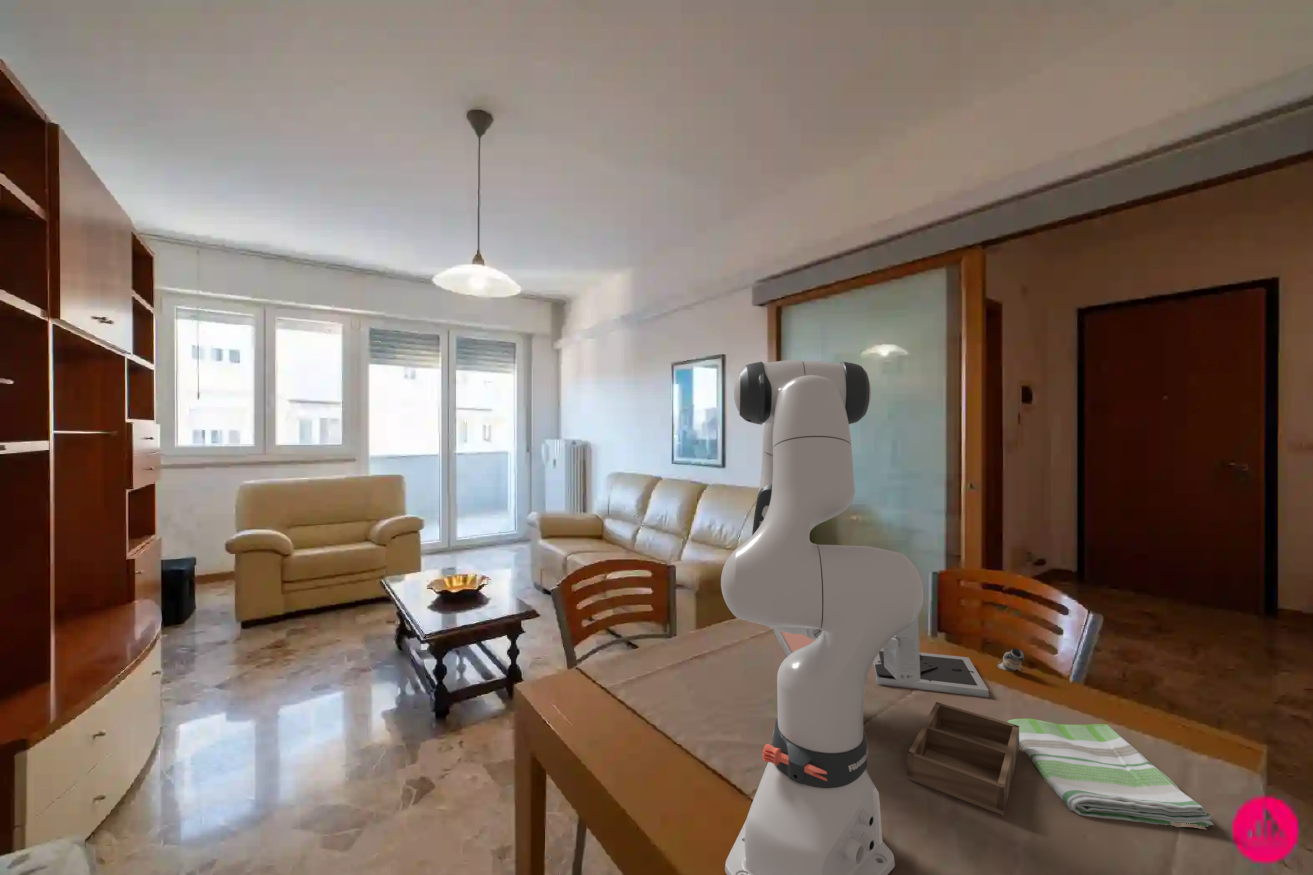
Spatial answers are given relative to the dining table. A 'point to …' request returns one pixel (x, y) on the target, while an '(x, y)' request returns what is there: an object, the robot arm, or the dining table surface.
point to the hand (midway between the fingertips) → (905, 636)
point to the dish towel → (1105, 774)
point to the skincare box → (905, 655)
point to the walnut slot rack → (965, 756)
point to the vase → (1012, 660)
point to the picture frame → (937, 675)
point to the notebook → (792, 641)
